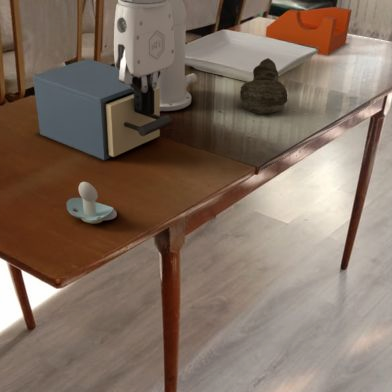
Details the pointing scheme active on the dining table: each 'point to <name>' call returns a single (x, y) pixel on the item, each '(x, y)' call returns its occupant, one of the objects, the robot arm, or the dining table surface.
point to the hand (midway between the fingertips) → (144, 112)
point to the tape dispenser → (313, 28)
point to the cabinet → (77, 104)
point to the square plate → (243, 54)
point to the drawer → (131, 123)
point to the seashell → (264, 90)
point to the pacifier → (89, 206)
